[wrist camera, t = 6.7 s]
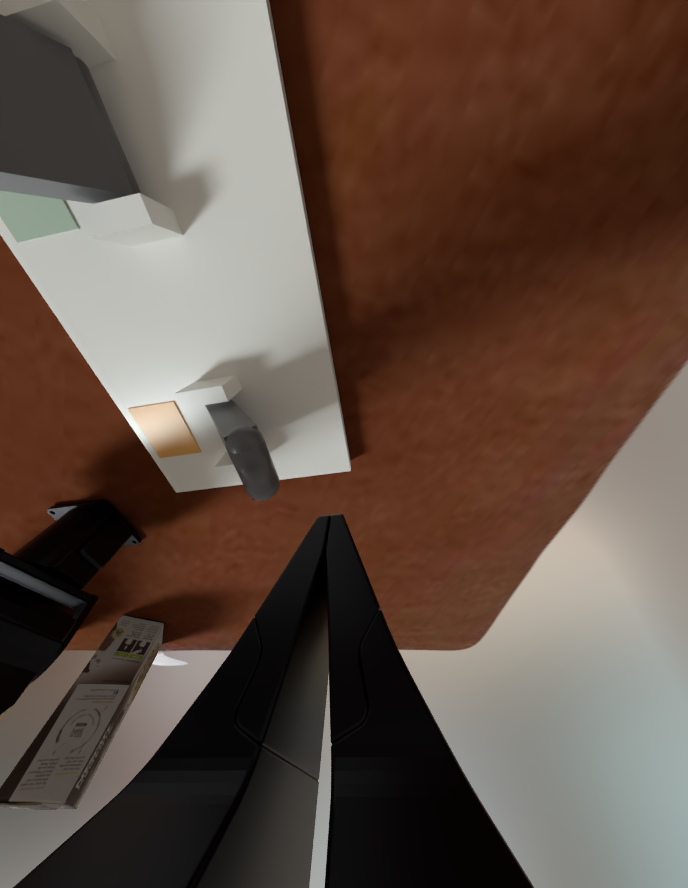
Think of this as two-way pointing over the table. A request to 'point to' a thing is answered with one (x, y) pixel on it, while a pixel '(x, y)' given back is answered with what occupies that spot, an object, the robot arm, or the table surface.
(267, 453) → the breaker lever
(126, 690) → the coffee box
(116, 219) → the breaker panel
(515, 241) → the table surface
